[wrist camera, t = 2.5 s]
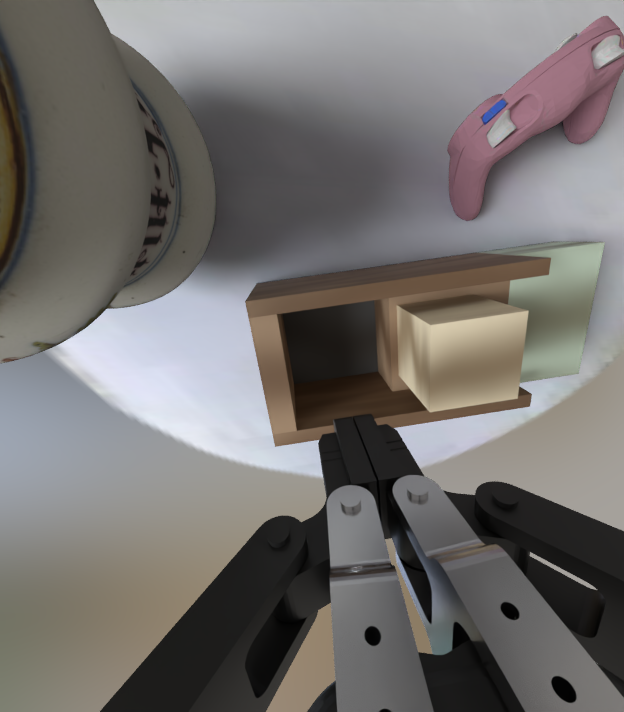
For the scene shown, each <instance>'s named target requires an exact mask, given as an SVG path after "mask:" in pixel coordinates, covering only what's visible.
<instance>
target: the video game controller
mask: <svg viewBox="0 0 624 712" xmlns="http://www.w3.org/2000/svg"><path fill="white" fill-rule="evenodd" d="M623 69H624V36H623V34H622V32H621V31H620V28H619V27H618V26H617V25H616V24H615V23H614V22H613V21H612V20H611V19H610V18H609V17H608V16H603V17H601V18H599V19H597V20H596V21H594V22H593V23H592V24H591V25H589V26H588V27H587V28H586V29H585V30H583V31H582V32H581V33H580V34H579V35H578V36H577V33H575V34H573V35H571V36H569V37H568V38H566V39H565V40H563V41H562V42H561V44H560V45H559V46H558V47H557V49H556V51H555V53H553V54H552V55H551V56H549V57H548V58H547V59H545V60H544V61H543V62H541V63H540V64H539V65H538V66H536V67H535V68H534V69H532V70H531V71H530V72H529V73H527V74H526V75H525V76H524V77H523V78H521V79H520V80H519V81H518V82H517V83H516V84H514V85H513V86H512V87H511V88H510V89H509V90H508V91H506V92H505V93H504V94H498V95H495V96H492V97H491V98H489V99H487V100H486V101H484V102H483V103H482V104H481V105H479V106H478V107H477V108H476V109H475V110H474V111H473V112H472V113H471V114H470V115H469V116H468V117H467V118H466V119H465V121H464V122H463V123H462V124H461V125H460V126H459V128H458V129H457V131H456V132H455V133H454V135H453V137H452V138H451V140H450V143H449V145H448V149H447V151H448V153H449V155H450V156H451V157H450V165H449V195H450V200H451V204H452V206H453V209H454V212H455V213H456V215H457V216H458V217H460V218H461V219H463V220H466V221H470V220H473V219H475V218H476V217H477V215H478V213H479V211H480V210H481V206H482V202H483V195H484V188H485V183H486V179H487V176H488V173H489V171H490V169H491V167H492V166H493V164H495V163H496V162H497V161H499V160H500V159H502V158H503V157H504V156H506V155H507V154H509V153H510V152H512V151H513V150H514V149H516V148H517V147H518V146H520V145H521V144H522V143H524V142H525V141H526V140H528V139H529V138H530V137H532V136H535V135H537V134H539V133H542V132H544V131H546V130H548V129H550V128H552V127H554V126H555V125H557V124H559V123H560V122H561V121H563V127H564V132H565V135H566V137H567V138H568V141H570V142H572V143H575V144H581V143H583V142H586V141H588V140H589V139H590V138H591V137H592V136H593V135H594V134H595V133H596V132H597V130H598V129H599V128H600V126H601V125H602V123H603V121H604V118H605V116H606V113H607V110H608V107H609V104H610V101H611V98H612V95H613V92H614V89H615V87H616V84H617V82H618V80H619V77H620V75H621V73H622V71H623Z"/></svg>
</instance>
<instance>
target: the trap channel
mask: <svg viewBox="0 0 624 712" xmlns="http://www.w3.org/2000/svg"><path fill="white" fill-rule="evenodd" d="M604 244H605V242H548V243H541V244H534V245H527V246H520V247H513V248H506V249H499V250H492V251H485V252H478V253H470V254H463V255H456V256H449V257H442V258H435V259H428V260H421V261H414V262H407V263H400V264H393V265H386V266H379V267H371V268H364V269H357V270H350V271H343V272H336V273H329V274H322V275H315V276H308V277H301V278H294V279H287V280H280V281H272V282H265V283H258V284H256V286H255V287H254V289H253V290H252V292H251V293H250V295H249V297H248V298H247V300H246V301H245V303H246V307H247V312H248V317H249V322H250V327H251V332H252V336H253V341H254V346H255V351H256V356H257V361H258V366H259V370H260V375H261V380H262V385H263V390H264V395H265V399H266V404H267V409H268V414H269V419H270V424H271V428H272V433H273V438H274V443H275V447H276V446H282V445H288V444H295V443H301V442H307V441H314V440H320V438H321V436H322V434H328V433H334V424H333V419H339V418H345V417H353V416H357V415H364V414H370V413H371V414H372V415H373V417H374V419H375V421H376V423H377V425H383V424H388V425H389V426H391V427H392V428H396V427H403V426H409V425H415V424H422V423H428V422H434V421H441V420H447V419H453V418H460V417H466V416H472V415H479V414H485V413H491V412H498V411H504V410H510V409H517V408H523V407H529V406H530V402H531V395H532V394H531V393H529V392H528V391H526V390H524V389H523V388H521V387H520V386H519V392H518V399H512V400H505V401H499V402H493V403H486V404H480V405H474V406H467V407H461V408H454V409H448V410H442V411H435V412H429V411H428V410H427V408H426V407H425V406H424V405H423V404H422V402H421V401H420V400H419V399H418V398H417V397H416V395H415V394H414V393H413V392H412V391H411V389H410V388H409V387H408V386H407V385H406V383H405V382H404V381H403V380H402V379H401V377H400V376H399V367H398V334H397V305H402V304H408V303H415V302H422V301H429V300H436V299H443V298H450V297H456V296H463V295H470V294H473V295H477V296H480V297H483V298H487V299H490V300H494V301H497V302H501V303H504V304H507V305H511V306H514V307H518V308H521V309H525V310H528V311H529V312H528V320H527V328H526V336H525V344H524V352H523V360H522V368H521V376H520V383H522V382H528V381H534V380H541V379H547V378H554V377H560V376H567V375H573V374H579V369H580V364H581V359H582V354H583V349H584V344H585V339H586V334H587V329H588V324H589V319H590V314H591V309H592V304H593V299H594V294H595V289H596V284H597V279H598V274H599V269H600V264H601V259H602V254H603V249H604Z"/></svg>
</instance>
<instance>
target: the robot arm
mask: <svg viewBox="0 0 624 712" xmlns="http://www.w3.org/2000/svg"><path fill="white" fill-rule="evenodd" d="M333 424H334V433H328V434H322V436H321V438H320V441H319V443H318V445H319V452H320V458H321V465H322V472H323V478H324V485H325V491H326V497H327V499H326V502H325V505H324V507H323V508H322V509H321V510H320V511H319V512H318V513H317V514H316V515H315V516H313V517H311V518H309V519H307V520H305V521H303V522H300V521H299V520H298V519H296V518H294V517H291V516H278V517H275V518H272V519H270V520H268V521H266V522H265V523H264V524H263V525H262V526H261V527H260V528H259V529H258V530H257V531H256V532H255V533H254V534H253V536H252V537H251V538H250V539H249V540H248V541H247V543H246V544H245V545H244V546H243V547H242V548H241V550H240V551H239V552H238V553H237V554H236V555H235V557H234V558H233V559H232V560H231V561H230V562H229V563H228V564H227V566H226V567H225V568H224V569H223V570H222V572H221V573H220V574H219V575H218V576H217V577H216V578H215V579H214V581H213V582H212V583H211V584H210V585H209V586H208V588H207V589H206V590H205V591H204V592H203V593H202V594H201V596H200V597H199V598H198V599H197V600H196V601H195V603H194V604H193V605H192V606H191V607H190V608H189V610H188V611H187V612H186V613H185V614H184V615H183V616H182V617H181V619H180V620H179V621H178V622H177V623H176V624H175V626H174V627H173V628H172V629H171V630H170V631H169V632H168V634H167V635H166V636H165V637H164V638H163V639H162V641H161V642H160V643H159V644H158V645H157V646H156V648H155V649H154V650H153V651H152V652H151V653H150V654H149V656H148V657H147V658H146V659H145V660H144V661H143V662H142V664H141V665H140V666H139V667H138V668H137V669H136V671H135V672H134V673H133V674H132V675H131V676H130V678H129V679H128V680H127V681H126V682H125V683H124V684H123V686H122V687H121V688H120V689H119V690H118V691H117V692H116V694H115V695H114V696H113V697H112V698H111V699H110V701H109V702H108V703H107V704H106V705H105V706H104V707H103V709H102V710H101V711H100V712H266V710H267V708H268V706H269V705H270V703H271V701H272V699H273V697H274V695H275V693H276V691H277V689H278V688H279V686H280V684H281V682H282V680H283V679H284V677H285V674H286V673H287V671H288V669H289V667H290V665H291V663H292V662H293V660H294V658H295V656H296V654H297V652H298V650H299V649H300V647H301V645H302V643H303V641H304V639H305V638H306V636H307V634H308V632H309V630H310V628H311V626H312V625H313V623H314V621H315V619H316V616H317V613H318V610H319V609H321V608H322V607H324V606H326V605H327V604H329V603H331V611H332V629H333V646H334V662H335V679H336V680H335V681H334V682H333V683H332V684H331V685H330V686H328V687H327V688H326V689H325V690H324V691H323V692H322V693H321V694H320V696H319V697H318V698H317V699H316V700H315V702H314V703H313V704H312V706H311V707H310V709H309V710H308V712H624V531H622V530H619V529H617V528H614V527H612V526H610V525H607V524H605V523H602V522H600V521H598V520H595V519H593V518H590V517H588V516H585V515H583V514H581V513H578V512H576V511H573V510H571V509H569V508H566V507H564V506H561V505H559V504H557V503H554V502H552V501H549V500H547V499H545V498H542V497H540V496H537V495H535V494H533V493H530V492H528V491H525V490H523V489H520V488H518V487H516V486H513V485H510V484H507V483H503V482H486V483H483V484H481V485H480V486H479V487H478V488H477V490H476V493H475V495H467V494H456V493H450V492H446V491H443V490H442V489H441V487H440V486H439V485H438V484H437V483H436V482H435V481H433V480H431V479H429V478H427V477H425V476H424V475H423V473H422V472H421V470H420V468H419V467H418V465H417V463H416V462H415V460H414V458H413V457H412V455H411V453H410V452H409V450H408V449H407V447H406V445H405V443H404V442H403V441H402V438H401V437H400V435H399V433H398V432H397V430H395V429H394V428H392V427H391V426H389V425H388V424H383V425H377V423H376V421H375V419H374V417H373V415H372V414H371V413H370V414H364V415H357V416H353V417H345V418H339V419H333ZM388 538H392V540H393V542H394V545H395V548H396V561H397V564H398V567H399V569H400V572H401V574H402V576H403V578H404V581H405V583H406V585H407V588H408V590H409V592H410V595H411V597H412V599H413V601H414V604H415V606H416V608H417V611H418V613H419V615H420V618H421V620H422V622H423V624H424V627H425V629H426V632H427V635H428V638H429V641H430V645H431V649H432V653H433V654H427V653H419V652H418V650H417V647H416V643H415V639H414V635H413V631H412V627H411V624H410V620H409V616H408V612H407V608H406V605H405V601H404V597H403V593H402V590H401V586H400V582H399V578H398V575H397V571H396V569H395V566H394V565H391V561H390V558H389V554H388V550H387V546H386V542H385V539H388ZM530 552H532V553H533V554H535V555H537V556H539V557H541V558H543V559H545V560H547V561H548V562H550V563H552V564H554V565H556V566H558V567H560V568H562V569H563V570H565V571H567V572H569V573H571V574H573V575H575V576H577V577H579V578H580V579H582V580H584V581H586V582H588V583H589V584H591V585H593V586H594V587H595V588H596V589H597V590H594V589H590V588H588V587H586V586H584V585H582V584H580V583H578V582H576V581H575V580H573V579H571V578H569V577H567V576H565V575H563V574H562V573H560V572H558V571H556V570H554V569H552V568H550V567H549V566H547V565H545V564H543V563H541V562H539V561H538V560H536V559H534V558H532V557H530V556H529V555H530ZM594 661H595V662H594ZM597 663H598V664H597Z"/></svg>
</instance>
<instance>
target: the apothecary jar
mask: <svg viewBox="0 0 624 712" xmlns="http://www.w3.org/2000/svg"><path fill="white" fill-rule="evenodd" d="M215 211H216V188H215V179H214V173H213V168H212V164H211V160H210V156H209V152H208V149H207V146H206V144H205V141H204V139H203V136H202V134H201V132H200V130H199V127H198V125H197V123H196V121H195V120H194V118H193V116H192V114H191V112H190V111H189V109H188V107H187V106H186V104H185V103H184V101H183V100H182V98H181V97H180V95H179V94H178V93H177V91H176V90H175V89H174V88H173V86H172V85H171V84H170V83H169V82H168V80H167V79H166V78H165V77H164V76H163V75H162V74H161V73H160V72H159V71H158V70H157V69H156V68H155V67H154V66H153V65H152V64H151V63H150V62H149V61H148V60H147V59H146V58H145V57H143V56H142V55H141V54H140V53H139V52H137V51H136V50H135V49H133V48H132V47H131V46H129V45H128V44H127V43H125V42H124V41H122V40H121V39H119V38H118V37H116V36H114V35H113V34H111V33H110V31H109V29H108V27H107V25H106V23H105V21H104V19H103V17H102V15H101V13H100V11H99V9H98V8H97V6H96V4H95V2H94V0H0V363H5V362H10V361H14V360H18V359H22V358H25V357H28V356H32V355H34V354H37V353H40V352H42V351H45V350H47V349H50V348H52V347H54V346H56V345H58V344H60V343H62V342H64V341H66V340H67V339H69V338H71V337H72V336H74V335H75V334H77V333H79V332H80V331H82V330H83V329H85V328H86V327H87V326H89V325H90V324H91V323H92V322H93V321H94V320H95V319H97V318H98V317H99V316H100V315H101V314H102V313H103V312H104V311H105V310H106V309H107V308H124V307H131V306H136V305H140V304H143V303H147V302H150V301H153V300H155V299H158V298H160V297H162V296H164V295H166V294H168V293H169V292H171V291H172V290H174V289H175V288H177V287H178V286H179V285H180V284H181V283H182V282H184V281H185V280H186V279H187V278H188V277H189V275H190V274H191V273H192V272H193V271H194V269H195V268H196V267H197V265H198V264H199V262H200V261H201V259H202V257H203V255H204V253H205V251H206V249H207V246H208V244H209V241H210V238H211V234H212V230H213V226H214V221H215Z"/></svg>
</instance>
